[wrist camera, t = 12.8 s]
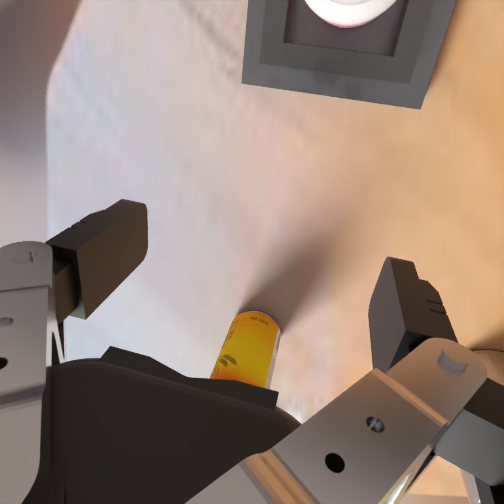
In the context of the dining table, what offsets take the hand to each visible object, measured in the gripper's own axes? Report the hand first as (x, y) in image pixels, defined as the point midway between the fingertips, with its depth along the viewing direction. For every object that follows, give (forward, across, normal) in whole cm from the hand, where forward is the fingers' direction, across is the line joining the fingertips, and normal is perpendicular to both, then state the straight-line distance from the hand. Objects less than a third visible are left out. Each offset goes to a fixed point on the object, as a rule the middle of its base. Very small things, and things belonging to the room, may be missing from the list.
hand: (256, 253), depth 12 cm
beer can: (+24, +2, +24) cm, 34 cm away
